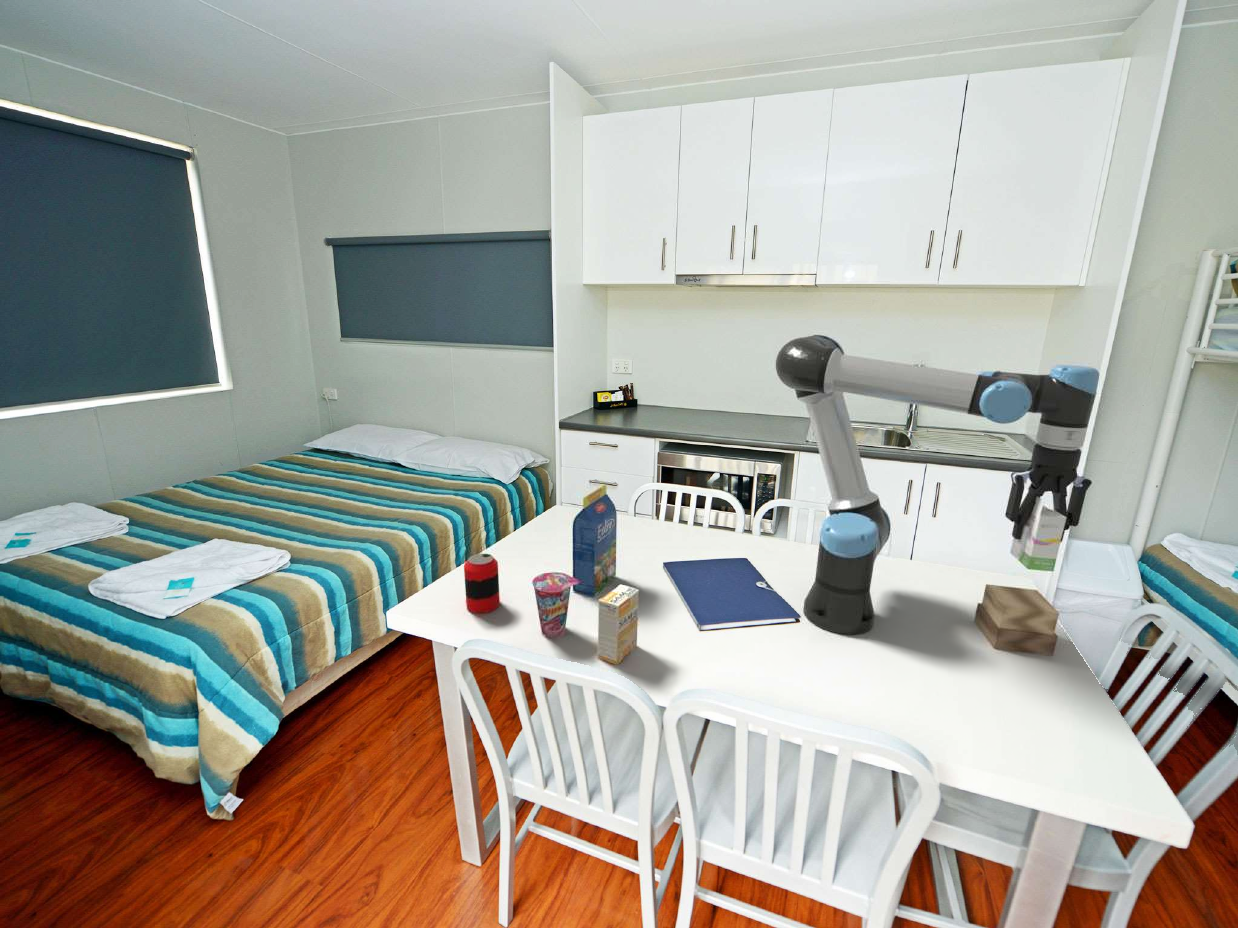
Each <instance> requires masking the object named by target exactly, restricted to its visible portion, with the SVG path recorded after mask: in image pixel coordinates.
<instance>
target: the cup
mask: <svg viewBox="0 0 1238 928" xmlns="http://www.w3.org/2000/svg"><path fill="white" fill-rule="evenodd" d="M531 583H532V587H533V588H534V589H533V590H534V594H535V599H536V600H535V601H536V606H537V613H538V619H539V625H540V629H541V634H542V635H543V636H544V637H546V638H551V639H553V638H560V637H561V636H563V635H564V634H565V633H566V628H567V627H566V625H567V619H568V610H569V603H570V597H571V595H570V593H571V587H573V585H575V584H578V583H579V581H578V580H577V579H575V578H573V576H571V575H569V574H567V573H564V572H558V571H557V572H556V571H552V572H544V573H541V574H538V575H536V576H535V577H534V578H533V579H532V582H531Z"/></svg>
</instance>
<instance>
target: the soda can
mask: <svg viewBox="0 0 1238 928" xmlns="http://www.w3.org/2000/svg"><path fill="white" fill-rule="evenodd" d="M463 571H464V573H463V574H464V587H465V589H464V590H465V602H466V603H465V604H466V609H467V610H468V611H469V612H471V613H473V614H480V615H481V614H488V613H491V612H493V611H495V610H496V609H497V608H498V607H500V604H501V601H500V582H499V581H500V580H499V563H498V560H497V559H495V557H494V556H493V555H492V554H489V553H476V554H473V555H471V556H469V557H468V559H467V560H466V561H465V563H464V565H463Z"/></svg>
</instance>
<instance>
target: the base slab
mask: <svg viewBox="0 0 1238 928" xmlns="http://www.w3.org/2000/svg"><path fill="white" fill-rule="evenodd" d="M973 622H974V623H975V625H976V627H978V629H979V630H980V632H981V633H982V635H983V636H984V637H985V639H986V640H987V641H988V642H989V644H990V645H991V647H992V648H993V649H994V650H998V651H1000V650H1001V651H1008V652H1009V651H1010V652H1015V653H1016V652H1017V653H1026V654H1032V655H1033V654H1034V655H1043V656H1049V657H1050V656H1051V657H1054V653H1055V649H1056V646H1057V641H1058V639H1059V638H1058V637H1059V636H1058V634H1057V633H1055V631H1054V635H1050V634H1042V633H1035V632H1027V631H1019V630H1011V629H1003V628H999V627H998V626H997V624H996V623H995V622H994V620H993V619H992V618H991V616H990V615H989V613H988V612H987V611H986V609H985V608H984V607H983V605H982V602H981V603H980V602H977V607H976V610H975V614H974V620H973Z"/></svg>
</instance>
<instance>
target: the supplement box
mask: <svg viewBox="0 0 1238 928" xmlns="http://www.w3.org/2000/svg"><path fill="white" fill-rule="evenodd" d="M639 594H640V590H639V589H637V588H635V587H631V586H629V585H623V584H619V585H618V586H616V587H615V588H613V589H612V590H611V591H609V592H608V593H607V594H605V595H604V596H602V597H601V598H600V599H598V618H597V619H598V622H597V624H598V626H597V627H598V629H597V630H598V637H597V639H598V641H597V657H598V659H602V660H603V661H607V662H608V663H611V664H614V665H618V664H619V663H620V662H621V660H623V659H624V658H625V657H626V655H628V654H629V653H630V652H631V651H632V650H633V649H634V648H636V647H637V645H638V625H639V624H638V621H639V618H638V617H639Z"/></svg>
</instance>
